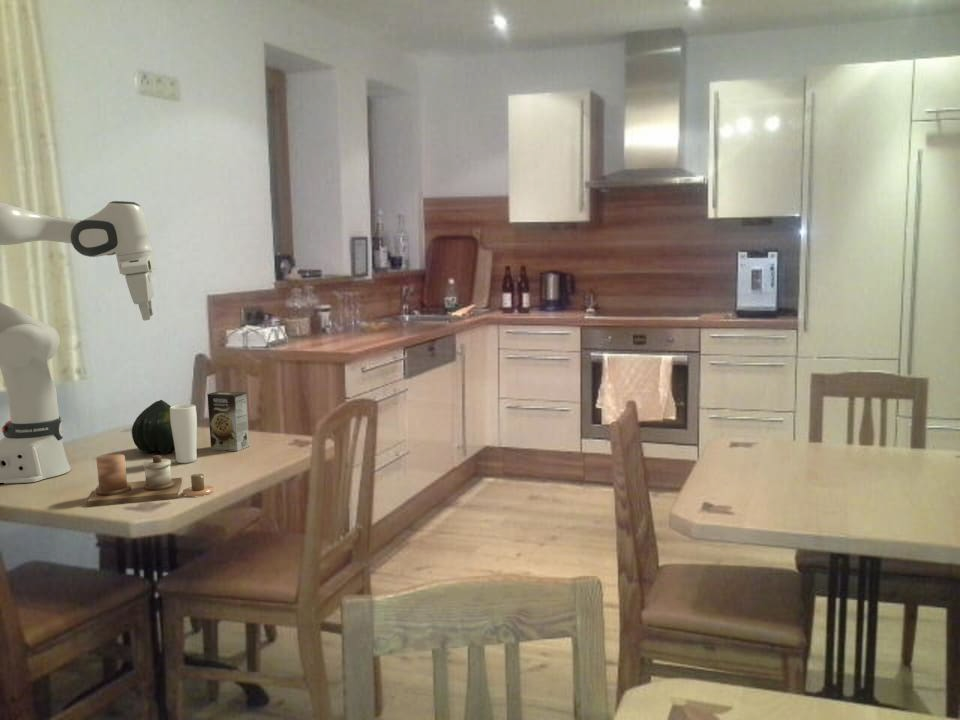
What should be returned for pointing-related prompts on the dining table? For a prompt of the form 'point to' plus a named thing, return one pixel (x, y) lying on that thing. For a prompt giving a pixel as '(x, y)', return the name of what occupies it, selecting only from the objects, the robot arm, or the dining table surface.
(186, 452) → the drinking glass
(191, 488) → the jar lid
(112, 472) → the holder
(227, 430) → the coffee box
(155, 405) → the squash
